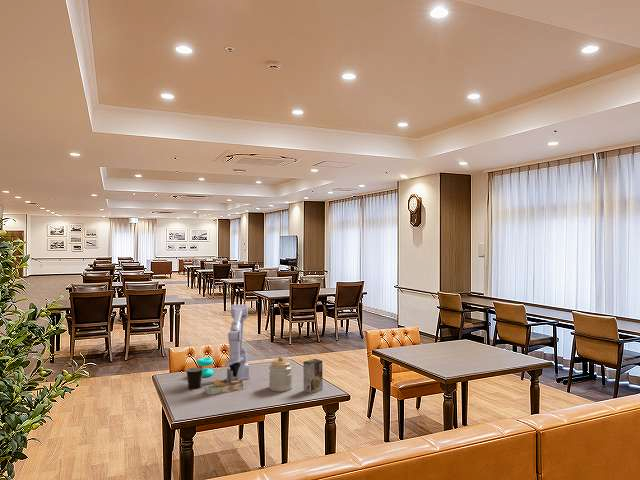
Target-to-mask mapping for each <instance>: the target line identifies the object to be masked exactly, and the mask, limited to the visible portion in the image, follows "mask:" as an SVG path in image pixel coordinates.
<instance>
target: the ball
mask: <svg viewBox="0 0 640 480" xmlns="http://www.w3.org/2000/svg"><path fill="white" fill-rule="evenodd" d="M220 384H221V380H220V379H215V380H214V385H215V386H219V385H220Z"/></svg>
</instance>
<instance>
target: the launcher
mask: <svg viewBox="0 0 640 480" xmlns="http://www.w3.org/2000/svg"><path fill="white" fill-rule="evenodd" d="M220 381H221V384H220V385H219V386H217V388H218V387H221V393H220V394H225V393H230V392H235V391H240V390H241V391H242V390H243V389H244V383H243V381H244V380H238V378H233V381H231V383H224V379H221V380H220Z"/></svg>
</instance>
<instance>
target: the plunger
mask: <svg viewBox="0 0 640 480" xmlns="http://www.w3.org/2000/svg"><path fill="white" fill-rule="evenodd" d="M226 370H227V371H226V377H227V378H224V379H223V380H224V383H231V381H233V370H231V369H230V368H227V369H226Z"/></svg>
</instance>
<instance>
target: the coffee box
mask: <svg viewBox="0 0 640 480" xmlns="http://www.w3.org/2000/svg"><path fill="white" fill-rule="evenodd" d="M302 363H303V365H302V366H303V392H307V393H310V394H313V393H315V392H316V393H317V392H319V391H322V390H323V389H324V388H323V387H324V386H323V383H324V382H323V360H320V359H319V358H313V359H308V360H305V361H303V362H302Z"/></svg>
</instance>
